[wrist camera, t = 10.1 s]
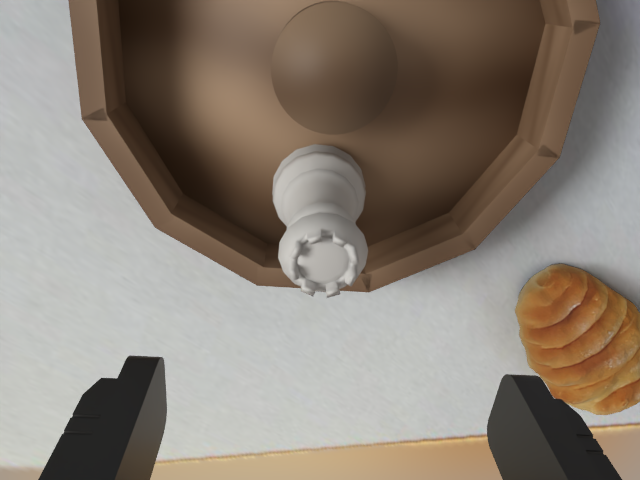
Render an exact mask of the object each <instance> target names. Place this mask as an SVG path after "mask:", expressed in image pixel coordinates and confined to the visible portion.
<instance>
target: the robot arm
mask: <svg viewBox="0 0 640 480" xmlns="http://www.w3.org/2000/svg"><path fill="white" fill-rule="evenodd" d="M166 414H167V402H166V384H165V366H164V359H163V358H162V357H147V356H129V357H128V358H127V359H126V361H125V363H124V365H123V368H122V370H121V372H120V374H119V376H118V378H117V379H115V378H101V379H100V380H99V381H97V382H96V383H95V384H94V385H93V386H92V387H91V388H90V389H88V390H87V391H86V392H85V393H84V394H83V395H82V397H81V399H80V401H79V403H78V405H77V407H76V409H75V411H74V413H73V417H72V418H70V420H69V422H68V424H67V426H66V428H65V430H64V434H62V435H61V437H60V439H59V441H58V443H57V445H56V447H55V449H54V451H53V453H52V455H51V457H50V458H49V460H48V462H47V464H46V466H45V468H44V470H43V472H42V474H41V476H40V478H39V479H38V480H150V477H151V474H152V471H153V468H154V464H155V461H156V458H157V454H158V451H159V447H160V444H161V441H162V437H163V434H164V429H165V423H166ZM487 436H488V443H489V446H490V449H491V452H492V454H493V457H494V459H495V462H496V464H497V466H498V469H499V471H500V474H501V476H502V479H503V480H622V479H621V477H620V476H619V474H618V473H617V471H616V470H615V468H614V467H613V465H612V464H611V462H610V461H609V459H608V457H607V456H606V455H604V454H603V450H602V448H601V447H600V445H599V444H598V442H597V441H596V439H593V434H592V433H591V431H590V430H589V428H588V427H587V425H586V424H585V422H584V421H583V419H582V417H581V416H580V415H579V414H578V413H577V412H575V411H574V410H573V409H572V408H571V407H570V406H569V405H567V404H566V403H565V402H564V401H563V400H562V399H554V398H553V397H552V395H551V393H550V392H549V390H548V388H547V387H546V385H545V383H544V382H543V380H542V379H541V378H540V377H538V376H530V375H509V374H507V375H505V376H504V377H503V378H502V380H501V382H500V386H499V389H498V392H497V395H496V398H495V401H494V404H493V407H492V410H491V414H490V417H489V420H488V425H487Z"/></svg>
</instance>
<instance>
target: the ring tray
mask: <svg viewBox="0 0 640 480" xmlns="http://www.w3.org/2000/svg"><path fill="white" fill-rule="evenodd" d="M69 8H70V17H71V26H72V35H73V44H74V53H75V62H76V71H77V79H78V88H79V97H80V106H81V115H82V120H83V121H84V123H85V124H86V126H87V127H88V129H89V130H90V132H91V133H92V135H93V136H94V138H95V139H96V140H97V142H98V143H99V145H100V146H101V148H102V149H103V151H104V152H105V154H106V155H107V157H108V158H109V160H110V161H111V163H112V164H113V166H114V167H115V169H116V170H117V172H118V173H119V175H120V176H121V178H122V179H123V181H124V182H125V184H126V185H127V187H128V188H129V190H130V191H131V192H132V194H133V195H134V197H135V198H136V200H137V201H138V203H139V204H140V206H141V207H142V209H143V210H144V212H145V213H146V215H147V216H148V218H149V219H150V221H151V222H152V224H153V225H154V227H155V228H157V229H159V230H160V231H162V232H164V233H166V234H167V235H169V236H171V237H173V238H174V239H176V240H178V241H180V242H181V243H183V244H185V245H187V246H189V247H190V248H192V249H194V250H196V251H197V252H199V253H201V254H203V255H204V256H206V257H208V258H210V259H211V260H213V261H215V262H217V263H219V264H220V265H222V266H224V267H226V268H227V269H229V270H231V271H233V272H234V273H236V274H238V275H240V276H241V277H243V278H245V279H247V280H249V281H250V282H252V283H254V284H256V285H257V286H275V287H291V288H301V287H300V286H298V285H296V284H294V283H293V282H292V281H291V280H290V279H289V278H288V276H287V275H286V274H285V273H284V272H283V270H282V267H281V264H280V261H279V259H278V253H279V242H280V240H281V239H282V237H283V235H284V233H285V232H286V230H287V226H286V225H285V224H284V223H283V222H282V221H281V220H280V218H279V217H278V214H277V211H276V209H275V206H274V203H273V195H272V191H273V178H274V175H275V173H276V171H277V169H278V168H279V166H280V164H281V162H282V161H283V160H284V159H285V158H286V157H288V156H289V155H290V154H291V153H293V152H294V151H295V150H296V149H300V148H303V147H307V146H310V145H314V144H318V145H327V146H334V147H336V148H338V149H340V150H342V151H343V152H345V153H347V154H349V155H350V156H351V157H352V158H353V159H354V161H355V162H356V163H357V164H358V166H359V167H360V168H361V170H362V174H363V178H364V182H365V191H366V196H365V202H364V208H363V211H362V213H361V214H360V216H359V217H358V219H357V220H356V222H355V223H356V226H357V227H358V228H359V229H360V231H361V232H362V233H363V234H364V236H365V240H366V244H367V247H368V254H367V260H366V265H365V267H364V268H363V270H362V271H361V273H360V274H359V276H358V277H357V279H356V280H355V282H354V283H353V285H352V286H349V285H347V286H345V287H344V288H341V289H340V291H356V292H371V291H373V290H376V289H378V288H380V287H383V286H385V285H388V284H390V283H393V282H395V281H398V280H400V279H403V278H405V277H408V276H410V275H413V274H415V273H418V272H420V271H422V270H425V269H427V268H430V267H432V266H435V265H437V264H440V263H442V262H445V261H447V260H450V259H452V258H455V257H457V256H459V255H462V254H464V253H467V252H469V251H472V250H475V249H476V247H477V246H478V245H479V244H480V243H481V242H482V241H483V240H484V239H485V238H486V237H487V236H488V234H489V233H490V232H491V231H492V230H493V229H494V228H495V227H496V226H497V225H498V224H499V223H500V221H501V220H502V219H503V218H504V217H505V216H506V215H507V214H508V213H509V212H510V211H511V210H512V208H513V207H514V206H515V205H516V204H517V203H518V202H519V201H520V200H521V199H522V198H523V197H524V195H525V194H526V193H527V192H528V191H529V190H530V189H531V188H532V187H533V186H534V185H535V183H536V182H537V181H538V180H539V179H540V178H541V177H542V176H543V175H544V174H545V173H546V172H547V170H548V169H549V168H550V167H551V166H552V165H553V164H554V163H555V162H556V161H557V160H558V159H559V158H560V154H561V151H562V148H563V144H564V141H565V138H566V134H567V131H568V128H569V124H570V121H571V118H572V115H573V111H574V108H575V105H576V101H577V98H578V95H579V91H580V88H581V85H582V81H583V78H584V75H585V72H586V68H587V65H588V62H589V58H590V55H591V52H592V48H593V45H594V42H595V38H596V35H597V32H598V29H599V25H600V19H599V14H598V9H597V4H596V0H69Z"/></svg>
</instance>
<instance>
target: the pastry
mask: <svg viewBox="0 0 640 480" xmlns="http://www.w3.org/2000/svg"><path fill="white" fill-rule="evenodd" d="M515 313H516V315H517V318H518V323H519V325H520V332H519V336H520V338H521V341H522V343H523V346H524V347H525V350H526V355H527V362H528V364H529V367H530V368H531V369H533V370H534V371H535V372H536V373H538V374H539V375H540V377H541V378H542V379H543V381H544V382H545V383H546V384H547V386H548V387H549V390H550V392H551V394H552V396H553V397H554V398H556V399H562V400H563V401H564V402H565V403H566V404H570V405H571V406H573V407H576V408H578V409H581V410H586V411H590V412H591V413H593V414H596V415H608V414H612V413H616V412H620V411H622V410H624V409H627V408H629V407H631V406H633V405H635V404H637V403H638V402H640V313H639V311H638V310H637V308H636V306H635V305H634V304H633V303H632V302H630V301H629V300H627V299H626V298H624V297H623V296H622V295H620V294H619V293H617V292H615V291H614V290H612V289H610V288H609V287H608V286H606V285H605V284H604V283H602V282H601V281H600V280H599V279H597V278H595V277H594V276H592V275H590V274H589V273H587V272H586V271H584V270H582V269H579V268H576V267H572V266H568V265H565V264H554V265H550V266H548V267H547V268H545V269H544V270H542V271H540V272H538V273H537V274H535V275H534V276H533V277H531V278H530V279H529V281H528V282H527V283H526V284H525V286H524V287H523V288H522V290H521V292H520V293H519V296H518V302H517V305H516V308H515Z"/></svg>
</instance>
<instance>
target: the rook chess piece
mask: <svg viewBox="0 0 640 480" xmlns="http://www.w3.org/2000/svg"><path fill="white" fill-rule="evenodd" d="M272 195H273V203H274V206H275V209H276V211H277V214H278V217H279V218H280V220H281V221H282V222H283V223H284V224H285V225H286V226H287V230H286V232H285V233H284V235H283V237H282V239H281V240H280V242H279V253H278V259H279V261H280V264H281V267H282V270H283V272H284V273H285V274H286V275H287V276H288V278H289V279H290V280H291V281H292V282H293V283H294V284H296V285H298V286H300V287H301V291H302V292H304V293H306V294H309V295H311V296H313V295H314V293H315V291H318V292H326V294H327V297H331V296H335V295H339V294H340V289H341V288H344V287H345V286H347V285H349V286H352V285H353V283H354V282H355V280H356V279H357V277H358V276H359V274H360V273H361V271H362V270H363V268H364V267H365V265H366V260H367V254H368V247H367V244H366V240H365V236H364V234H363V233H362V232H361V231H360V229H359V228H358V227H357V226H356V223H355V222H356V220H357V219H358V217H359V216H360V214H361V213H362V211H363V208H364V202H365V196H366V191H365V182H364V178H363V174H362V170H361V168H360V167H359V166H358V164H357V163H356V162H355V161H354V159H353V158H352V157H351V156H350V155H349V154H347V153H345V152H343V151H342V150H340V149H338V148H336V147H334V146H327V145H318V144H314V145H310V146H307V147H303V148H300V149H296V150H295V151H294V152H293V153H291V154H290V155H289V156H288V157H286V158H285V159H284V160H283V161H282V162H281V164H280V166H279V168H278V169H277V171H276V173H275V175H274V178H273V191H272Z"/></svg>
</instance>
